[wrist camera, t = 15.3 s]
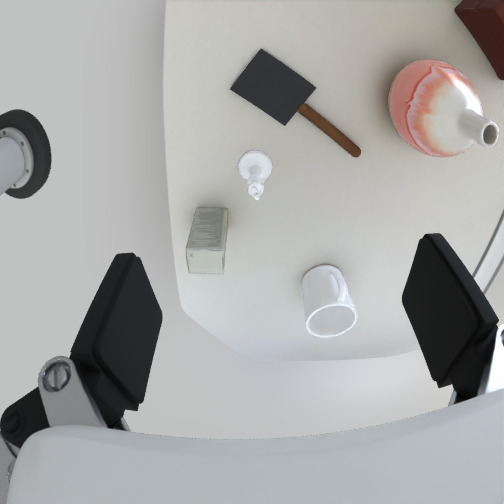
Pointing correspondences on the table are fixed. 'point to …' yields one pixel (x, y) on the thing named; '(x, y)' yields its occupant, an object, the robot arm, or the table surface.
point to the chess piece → (255, 171)
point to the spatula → (284, 95)
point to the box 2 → (486, 28)
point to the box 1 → (207, 241)
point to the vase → (438, 110)
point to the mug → (327, 302)
